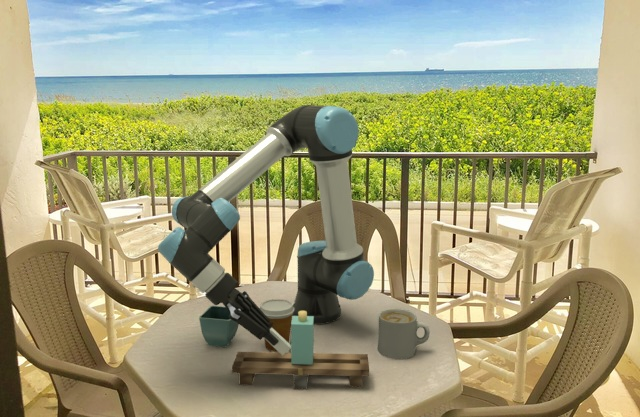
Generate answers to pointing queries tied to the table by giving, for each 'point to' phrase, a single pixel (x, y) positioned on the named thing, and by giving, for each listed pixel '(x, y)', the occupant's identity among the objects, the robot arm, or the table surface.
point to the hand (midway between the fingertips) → (286, 350)
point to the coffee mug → (399, 333)
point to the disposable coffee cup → (278, 318)
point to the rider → (302, 339)
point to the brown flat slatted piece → (300, 367)
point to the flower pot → (217, 326)
